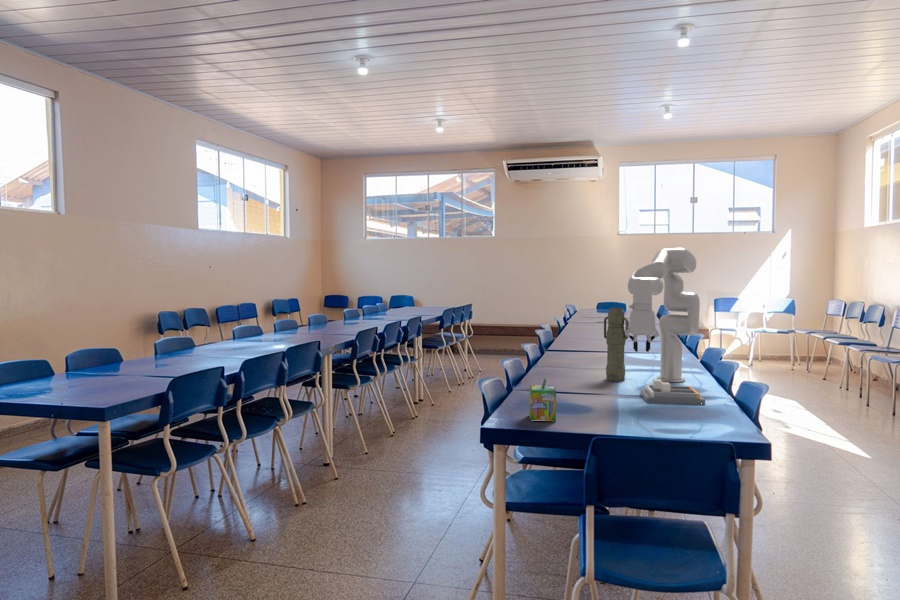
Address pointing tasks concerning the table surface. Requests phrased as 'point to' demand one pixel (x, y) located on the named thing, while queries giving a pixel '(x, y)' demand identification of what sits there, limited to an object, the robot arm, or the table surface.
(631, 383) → the table surface
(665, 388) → the tab
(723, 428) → the table surface
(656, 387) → the tab
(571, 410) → the table surface
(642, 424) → the table surface
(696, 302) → the robot arm
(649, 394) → the switch board
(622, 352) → the thermos
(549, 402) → the chalk box
